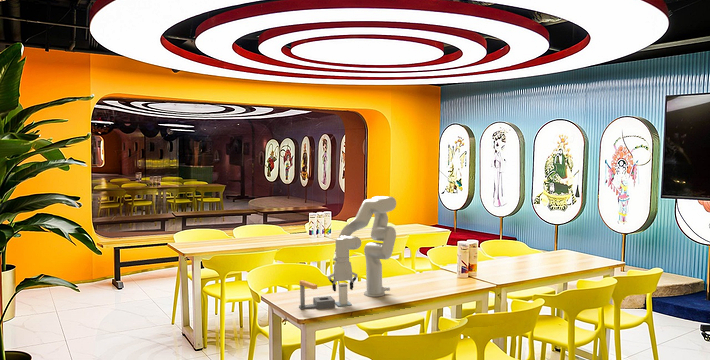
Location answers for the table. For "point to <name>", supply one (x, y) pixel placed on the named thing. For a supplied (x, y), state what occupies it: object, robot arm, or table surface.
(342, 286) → the plug
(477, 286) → the table surface
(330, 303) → the socket block
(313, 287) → the latch bar
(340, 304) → the pad
